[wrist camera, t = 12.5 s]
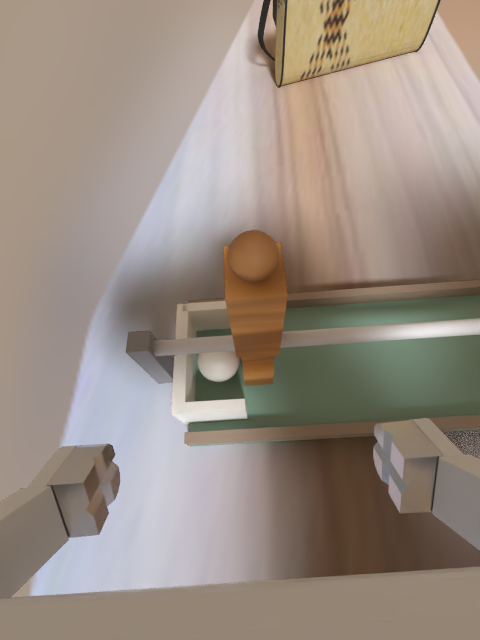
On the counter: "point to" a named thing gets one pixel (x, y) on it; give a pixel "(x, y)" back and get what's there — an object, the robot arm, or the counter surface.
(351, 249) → the counter surface
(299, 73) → the clutch purse
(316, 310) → the pitch
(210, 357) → the ball
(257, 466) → the counter surface
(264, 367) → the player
